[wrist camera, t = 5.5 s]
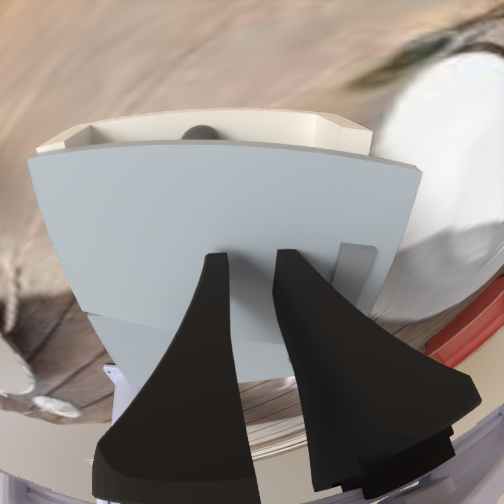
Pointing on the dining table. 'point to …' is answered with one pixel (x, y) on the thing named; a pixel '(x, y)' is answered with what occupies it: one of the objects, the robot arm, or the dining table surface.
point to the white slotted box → (222, 129)
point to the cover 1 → (218, 223)
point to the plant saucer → (469, 327)
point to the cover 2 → (158, 340)
